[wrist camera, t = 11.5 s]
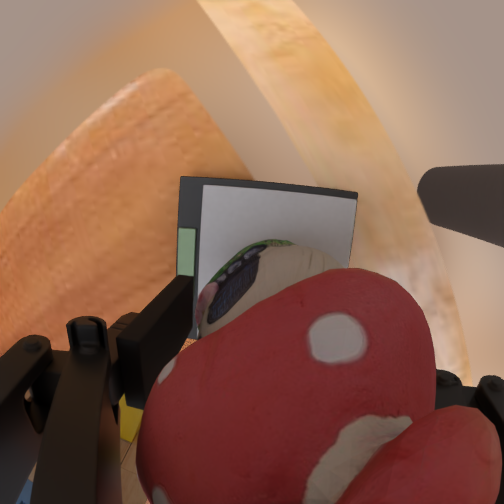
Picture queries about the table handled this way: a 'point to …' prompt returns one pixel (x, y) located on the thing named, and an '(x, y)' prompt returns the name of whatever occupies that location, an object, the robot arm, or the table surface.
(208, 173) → the table surface
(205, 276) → the kitchen scale
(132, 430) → the block set
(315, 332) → the decorative ornament
